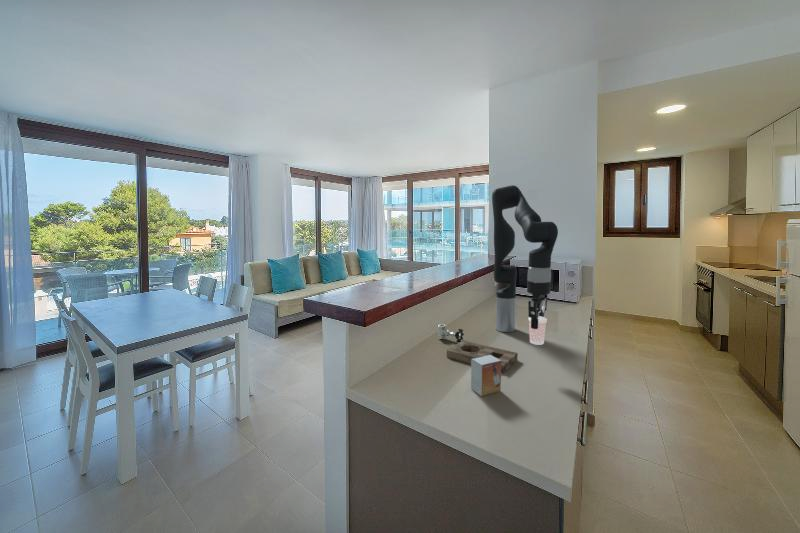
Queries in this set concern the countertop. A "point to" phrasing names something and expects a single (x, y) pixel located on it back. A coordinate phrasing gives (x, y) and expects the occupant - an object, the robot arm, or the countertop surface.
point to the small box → (486, 375)
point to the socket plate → (481, 353)
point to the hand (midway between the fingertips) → (537, 325)
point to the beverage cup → (538, 331)
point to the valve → (449, 333)
